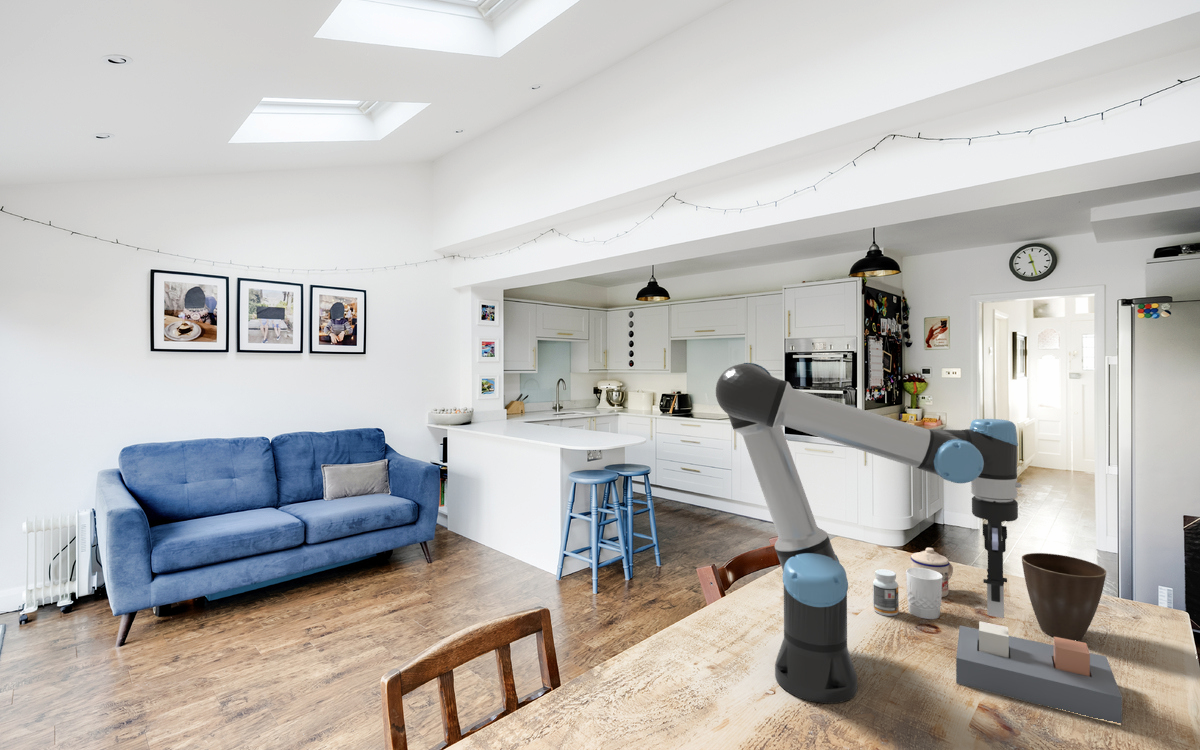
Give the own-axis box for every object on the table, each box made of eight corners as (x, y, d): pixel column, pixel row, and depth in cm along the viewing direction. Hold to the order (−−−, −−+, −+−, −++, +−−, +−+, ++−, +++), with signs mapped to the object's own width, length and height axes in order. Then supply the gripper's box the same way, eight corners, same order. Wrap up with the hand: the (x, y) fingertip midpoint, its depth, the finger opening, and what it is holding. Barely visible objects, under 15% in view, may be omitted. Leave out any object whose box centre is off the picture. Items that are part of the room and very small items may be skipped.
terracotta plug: (1089, 685, 104) (1089, 654, 104) (1055, 677, 107) (1056, 647, 106) (1085, 673, 108) (1086, 643, 108) (1053, 665, 111) (1053, 636, 110)
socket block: (1121, 726, 97) (1122, 697, 97) (956, 683, 111) (956, 657, 111) (1105, 681, 111) (1106, 656, 110) (959, 647, 124) (959, 625, 124)
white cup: (909, 603, 147) (909, 565, 146) (945, 612, 142) (945, 572, 141) (902, 614, 140) (902, 574, 140) (939, 623, 135) (939, 582, 135)
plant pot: (1048, 614, 139) (1049, 549, 139) (1121, 642, 125) (1122, 570, 125) (1005, 624, 134) (1006, 557, 134) (1077, 655, 120) (1078, 580, 120)
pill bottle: (903, 616, 139) (903, 576, 139) (879, 616, 139) (879, 576, 139) (891, 606, 145) (891, 568, 145) (868, 606, 145) (868, 568, 145)
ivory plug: (1008, 666, 111) (1008, 636, 111) (978, 659, 113) (978, 630, 113) (1007, 655, 115) (1008, 627, 114) (979, 649, 117) (979, 621, 117)
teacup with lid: (929, 600, 149) (929, 555, 148) (902, 586, 157) (902, 544, 157) (966, 594, 152) (966, 551, 151) (937, 581, 160) (938, 540, 160)
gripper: (1019, 507, 106) (1020, 633, 106) (1016, 492, 116) (1017, 607, 117) (970, 502, 110) (972, 623, 110) (972, 489, 121) (973, 599, 121)
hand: (995, 615), depth 114 cm, fingers closed
